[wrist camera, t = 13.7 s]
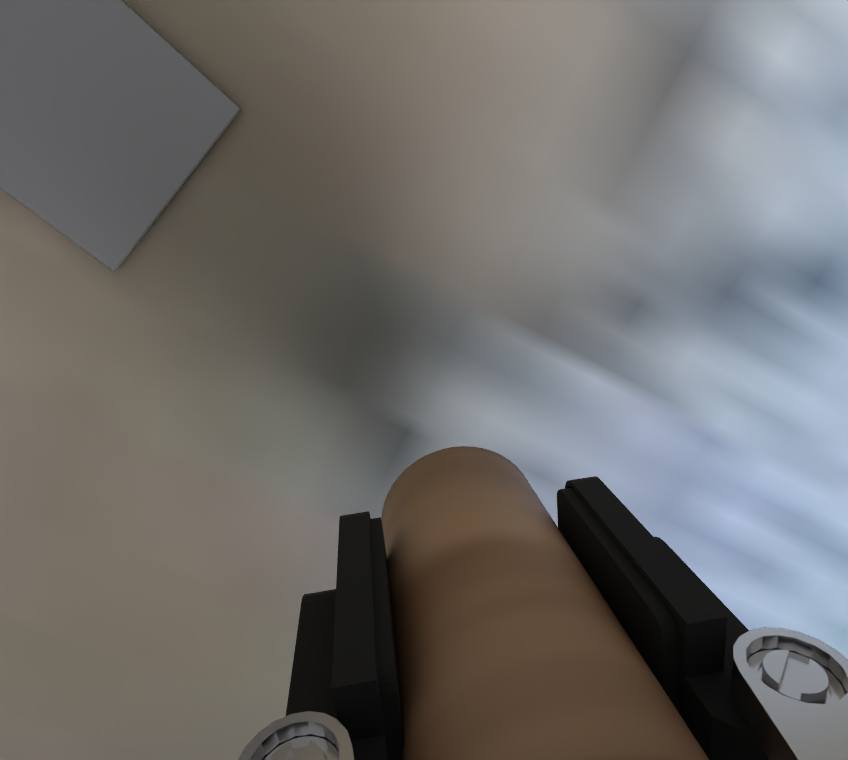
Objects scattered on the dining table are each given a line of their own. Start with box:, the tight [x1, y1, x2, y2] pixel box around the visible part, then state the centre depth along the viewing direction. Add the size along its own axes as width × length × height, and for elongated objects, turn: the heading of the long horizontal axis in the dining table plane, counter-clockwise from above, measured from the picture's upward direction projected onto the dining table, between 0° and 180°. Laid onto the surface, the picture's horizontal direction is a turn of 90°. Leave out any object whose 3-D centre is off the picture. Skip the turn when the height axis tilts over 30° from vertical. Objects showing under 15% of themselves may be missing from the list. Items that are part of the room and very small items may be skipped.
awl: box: [382, 446, 709, 760], centre depth 7 cm, size 3×3×11 cm
